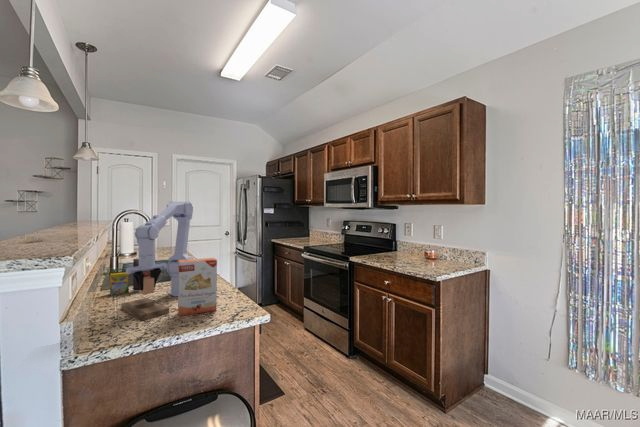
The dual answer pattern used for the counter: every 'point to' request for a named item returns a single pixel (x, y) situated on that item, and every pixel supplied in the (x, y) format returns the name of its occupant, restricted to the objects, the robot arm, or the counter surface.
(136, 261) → the supplement box
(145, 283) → the terracotta plug
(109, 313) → the counter surface
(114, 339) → the counter surface
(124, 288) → the crayon box
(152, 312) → the notched board
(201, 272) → the cracker box
